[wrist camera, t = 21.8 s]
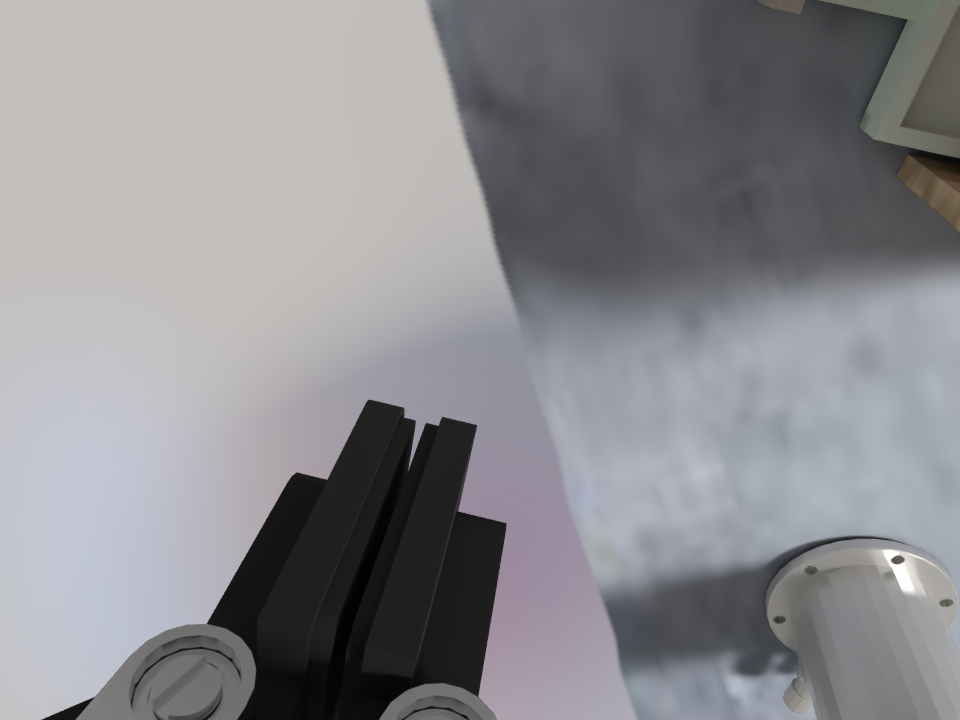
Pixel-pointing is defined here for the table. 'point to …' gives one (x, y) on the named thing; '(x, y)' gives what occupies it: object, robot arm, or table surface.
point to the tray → (913, 75)
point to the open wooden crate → (934, 185)
